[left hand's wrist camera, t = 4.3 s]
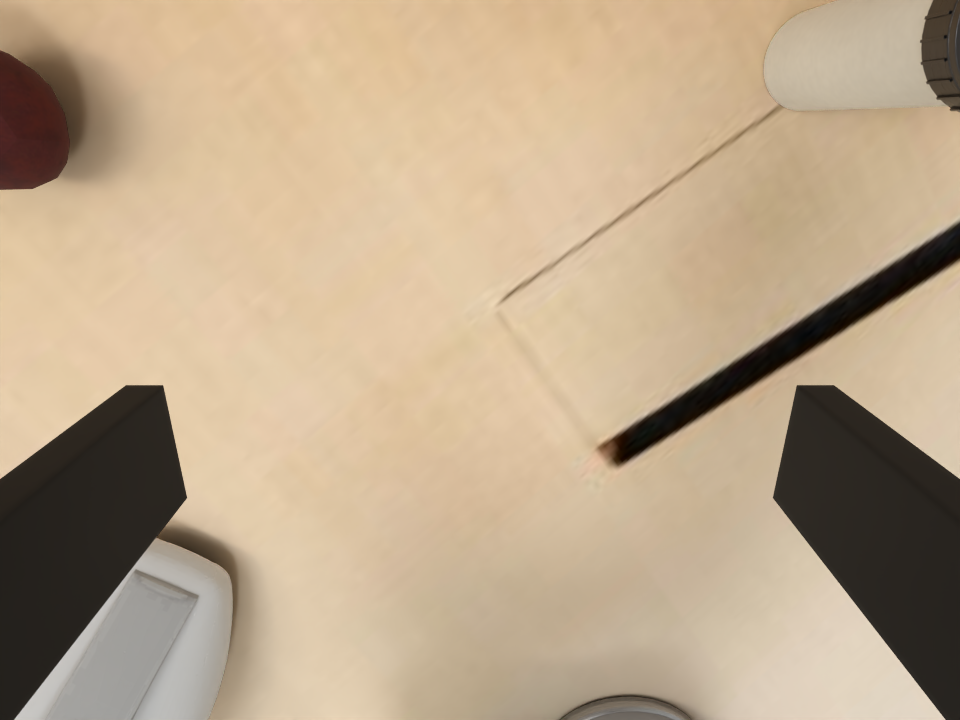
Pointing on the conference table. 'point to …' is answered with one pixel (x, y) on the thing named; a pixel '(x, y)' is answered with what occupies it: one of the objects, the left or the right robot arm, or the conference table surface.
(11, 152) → the dark red ball
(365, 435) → the conference table surface
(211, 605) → the projector
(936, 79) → the lid
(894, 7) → the jar
